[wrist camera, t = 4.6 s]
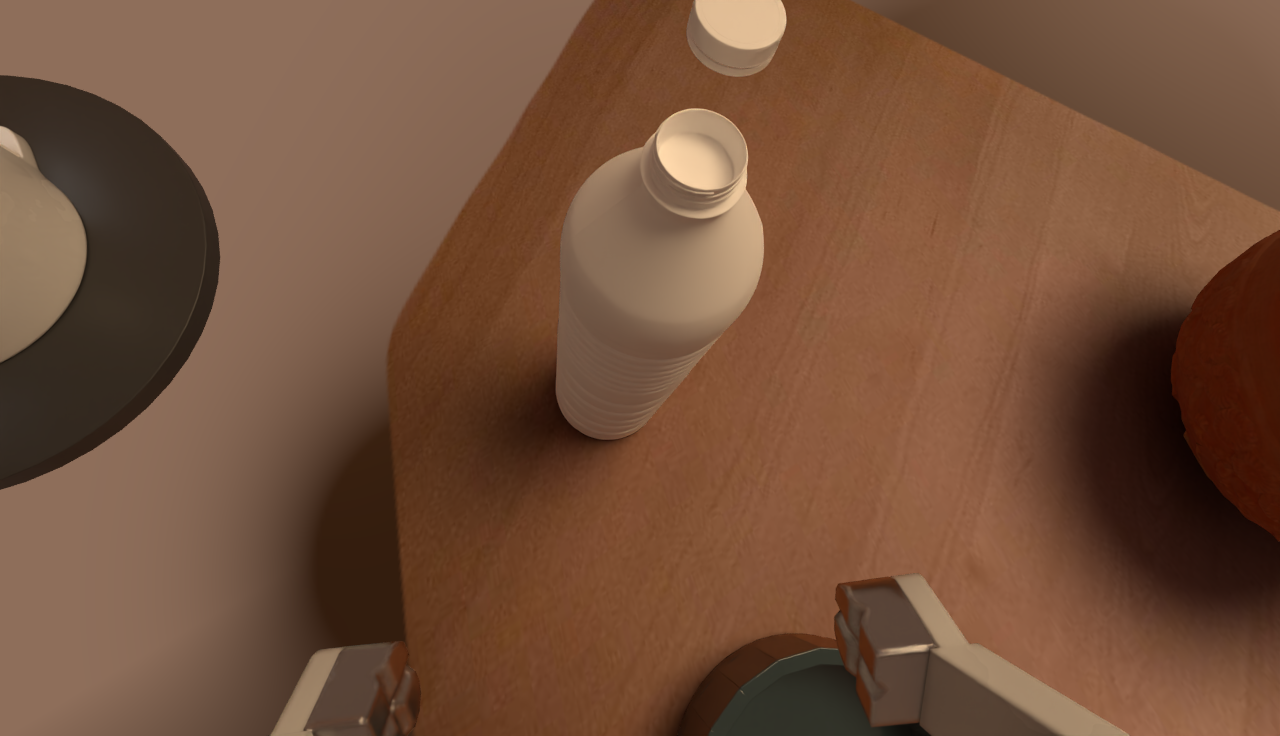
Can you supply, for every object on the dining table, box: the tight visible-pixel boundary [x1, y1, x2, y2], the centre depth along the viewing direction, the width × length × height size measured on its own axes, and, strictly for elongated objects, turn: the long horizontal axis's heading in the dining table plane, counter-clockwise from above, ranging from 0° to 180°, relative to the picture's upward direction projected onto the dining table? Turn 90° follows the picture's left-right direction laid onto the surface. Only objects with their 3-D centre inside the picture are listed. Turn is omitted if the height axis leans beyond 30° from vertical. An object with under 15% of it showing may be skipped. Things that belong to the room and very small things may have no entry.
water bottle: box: [556, 0, 786, 440], centre depth 26 cm, size 9×6×25 cm
